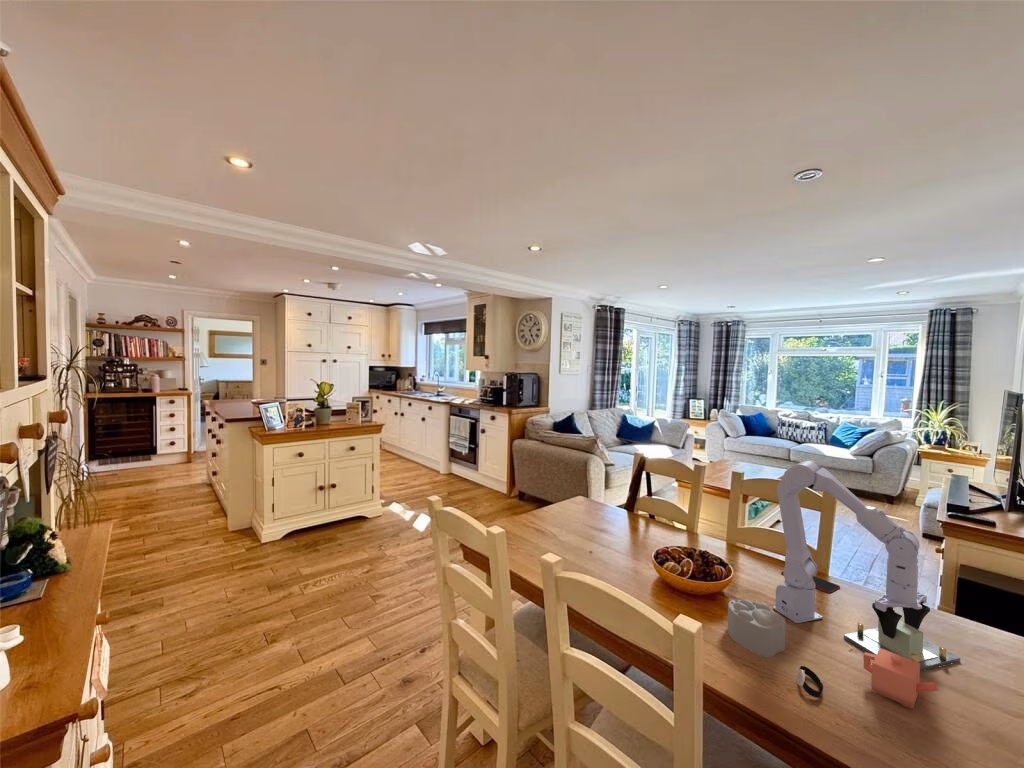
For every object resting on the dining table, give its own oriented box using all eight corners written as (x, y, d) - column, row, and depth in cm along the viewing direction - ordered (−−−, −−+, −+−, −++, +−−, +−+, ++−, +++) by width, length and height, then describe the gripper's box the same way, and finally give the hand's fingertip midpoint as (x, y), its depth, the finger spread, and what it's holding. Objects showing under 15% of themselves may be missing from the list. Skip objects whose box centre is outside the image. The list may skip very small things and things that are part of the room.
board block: (908, 655, 103) (909, 635, 103) (877, 637, 110) (878, 618, 109) (922, 652, 104) (923, 632, 104) (891, 635, 111) (891, 616, 110)
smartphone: (791, 567, 149) (841, 586, 136) (791, 569, 149) (841, 589, 136) (779, 572, 146) (829, 592, 133) (779, 575, 146) (829, 595, 133)
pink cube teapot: (935, 723, 85) (936, 683, 84) (859, 689, 94) (860, 652, 94) (940, 703, 90) (941, 666, 89) (867, 672, 99) (868, 638, 99)
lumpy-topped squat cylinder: (765, 660, 103) (766, 625, 103) (717, 631, 115) (718, 599, 114) (790, 647, 108) (791, 613, 108) (742, 620, 120) (742, 590, 119)
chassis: (904, 675, 98) (905, 661, 98) (843, 638, 111) (844, 625, 111) (960, 661, 102) (960, 647, 102) (894, 627, 116) (895, 614, 116)
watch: (793, 673, 99) (793, 658, 99) (817, 678, 97) (817, 663, 97) (801, 697, 92) (801, 680, 92) (827, 703, 90) (828, 686, 90)
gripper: (898, 592, 100) (896, 648, 101) (942, 584, 104) (940, 638, 104) (866, 578, 107) (865, 630, 108) (908, 571, 111) (907, 622, 111)
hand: (900, 633), depth 107 cm, fingers open, 7 cm apart
